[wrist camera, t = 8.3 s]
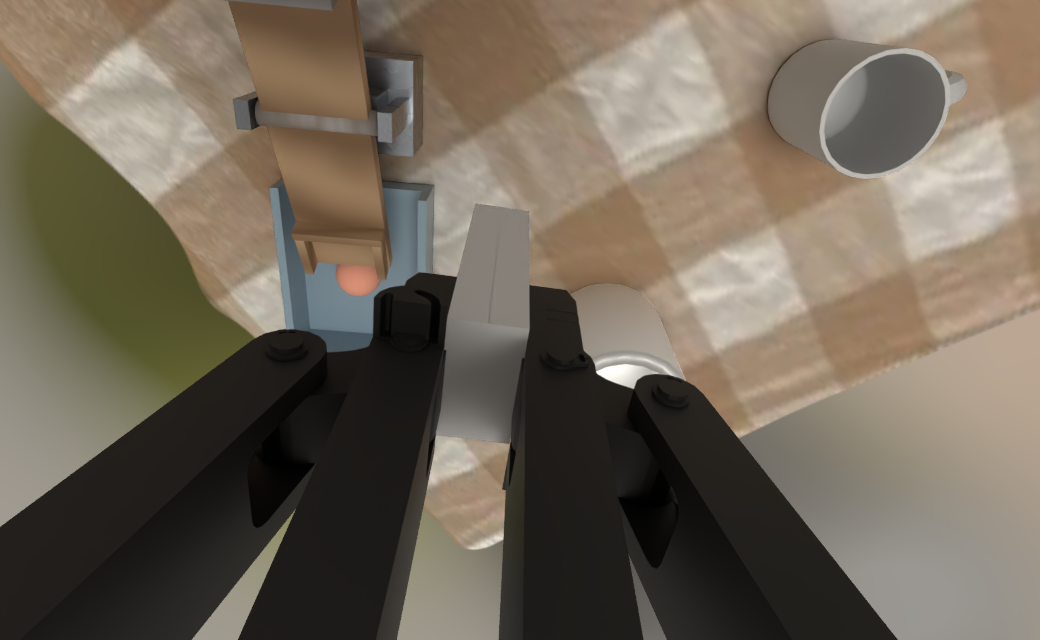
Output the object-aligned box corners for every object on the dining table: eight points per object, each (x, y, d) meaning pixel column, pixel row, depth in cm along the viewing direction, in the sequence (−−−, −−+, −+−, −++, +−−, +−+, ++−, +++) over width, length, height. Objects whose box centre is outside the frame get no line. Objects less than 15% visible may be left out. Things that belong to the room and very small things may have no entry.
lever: (229, -182, 28) (144, -114, 22) (372, -166, 28) (324, -95, 23) (324, 202, 47) (291, 292, 41) (409, 209, 47) (388, 300, 42)
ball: (320, 272, 44) (333, 285, 48) (358, 298, 44) (367, 309, 47) (349, 236, 45) (359, 251, 48) (386, 261, 45) (394, 275, 48)
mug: (494, 358, 53) (487, 436, 43) (528, 257, 48) (529, 320, 39) (634, 395, 54) (657, 477, 45) (681, 301, 50) (716, 371, 40)
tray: (289, 172, 45) (269, 187, 41) (434, 185, 45) (426, 201, 42) (305, 331, 51) (289, 355, 48) (431, 341, 52) (424, 366, 48)
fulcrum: (288, 43, 40) (223, 56, 32) (422, 56, 41) (394, 71, 32) (297, 132, 43) (239, 166, 34) (422, 144, 44) (396, 180, 35)
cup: (762, 53, 40) (819, 66, 33) (915, 15, 39) (1012, 19, 31) (766, 156, 44) (819, 190, 36) (907, 124, 43) (993, 152, 35)
